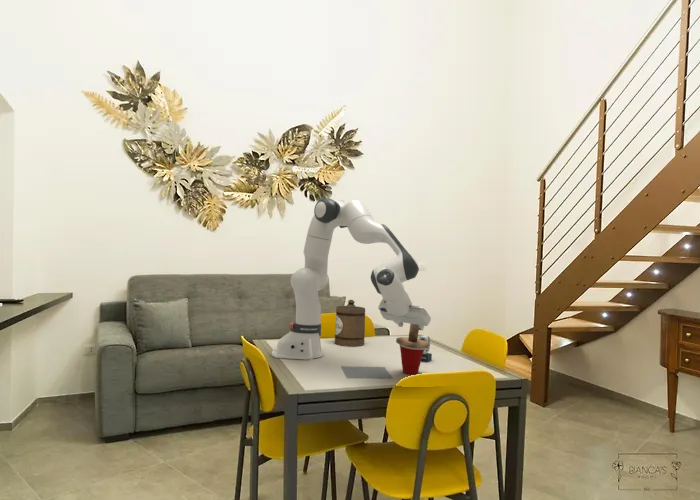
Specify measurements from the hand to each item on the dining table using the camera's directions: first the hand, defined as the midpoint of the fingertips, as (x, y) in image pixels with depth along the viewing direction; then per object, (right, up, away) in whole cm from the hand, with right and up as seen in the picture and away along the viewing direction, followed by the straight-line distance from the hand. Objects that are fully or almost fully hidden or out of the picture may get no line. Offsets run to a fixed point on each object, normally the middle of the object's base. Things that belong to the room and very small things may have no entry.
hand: (411, 327), depth 213 cm
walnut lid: (0, -7, +1) cm, 7 cm away
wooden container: (-25, -17, +57) cm, 64 cm away
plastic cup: (0, -19, +2) cm, 19 cm away
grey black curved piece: (+9, -19, +27) cm, 34 cm away
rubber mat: (-18, -18, -1) cm, 25 cm away
